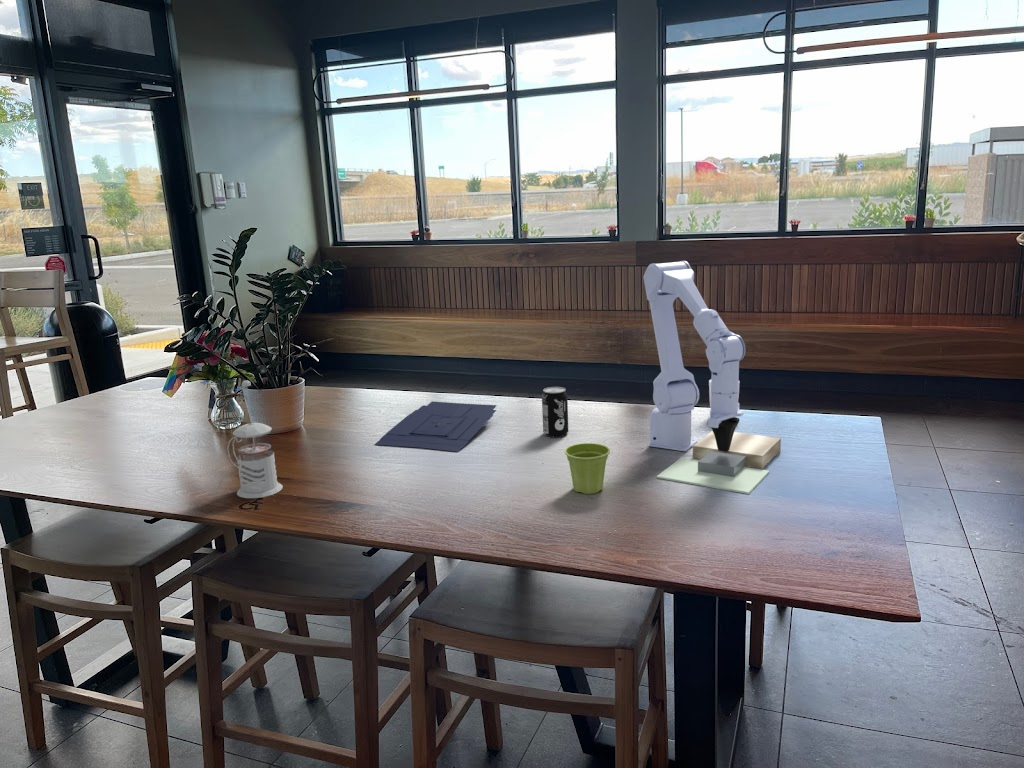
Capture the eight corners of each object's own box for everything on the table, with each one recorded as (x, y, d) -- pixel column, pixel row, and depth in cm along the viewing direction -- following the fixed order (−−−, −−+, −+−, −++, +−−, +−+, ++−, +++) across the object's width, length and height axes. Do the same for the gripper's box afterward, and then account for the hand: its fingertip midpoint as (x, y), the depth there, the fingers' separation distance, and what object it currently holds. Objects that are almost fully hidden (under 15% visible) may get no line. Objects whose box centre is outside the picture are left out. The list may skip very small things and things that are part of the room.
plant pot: (616, 494, 160) (615, 454, 158) (571, 499, 158) (570, 459, 156) (603, 479, 169) (602, 441, 167) (561, 483, 167) (560, 445, 165)
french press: (264, 500, 166) (249, 386, 160) (220, 495, 170) (204, 384, 164) (291, 483, 175) (278, 376, 169) (249, 479, 179) (235, 374, 173)
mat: (656, 477, 168) (656, 476, 168) (681, 458, 179) (681, 457, 179) (748, 494, 157) (748, 492, 157) (769, 472, 168) (769, 470, 168)
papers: (504, 414, 218) (503, 402, 217) (460, 461, 192) (458, 448, 191) (427, 409, 227) (425, 398, 226) (375, 454, 201) (372, 441, 200)
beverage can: (573, 432, 203) (571, 387, 200) (560, 439, 197) (559, 393, 195) (551, 429, 206) (549, 385, 203) (538, 436, 201) (536, 391, 198)
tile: (697, 471, 170) (697, 461, 169) (710, 460, 176) (711, 450, 176) (733, 477, 165) (734, 467, 165) (745, 465, 172) (746, 456, 171)
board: (692, 458, 179) (692, 445, 178) (714, 441, 190) (714, 429, 190) (762, 468, 170) (762, 455, 170) (780, 450, 181) (780, 438, 181)
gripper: (731, 400, 161) (730, 462, 164) (753, 385, 172) (751, 443, 176) (699, 397, 165) (698, 458, 168) (722, 382, 176) (721, 439, 180)
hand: (723, 450), depth 172 cm, fingers closed
